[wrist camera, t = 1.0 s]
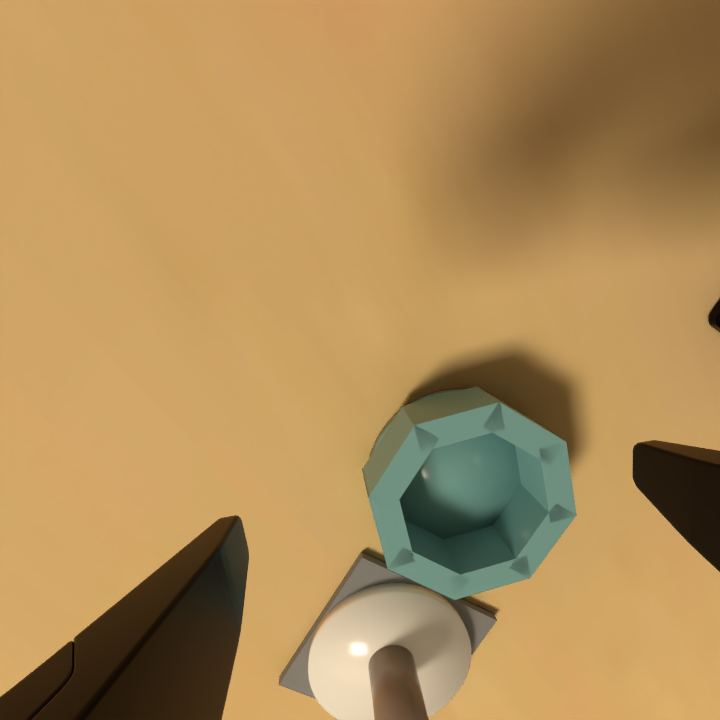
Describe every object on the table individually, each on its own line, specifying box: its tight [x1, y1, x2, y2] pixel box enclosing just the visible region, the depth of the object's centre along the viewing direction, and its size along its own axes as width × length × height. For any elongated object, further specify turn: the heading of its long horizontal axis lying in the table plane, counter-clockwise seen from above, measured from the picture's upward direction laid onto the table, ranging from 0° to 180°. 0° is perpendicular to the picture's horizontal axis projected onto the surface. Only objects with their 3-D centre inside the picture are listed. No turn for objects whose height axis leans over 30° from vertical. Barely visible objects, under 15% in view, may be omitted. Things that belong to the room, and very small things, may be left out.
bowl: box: [362, 386, 577, 600], centre depth 21 cm, size 10×10×4 cm
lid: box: [308, 583, 471, 720], centre depth 22 cm, size 10×10×5 cm
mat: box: [279, 552, 497, 699], centre depth 25 cm, size 10×10×1 cm
